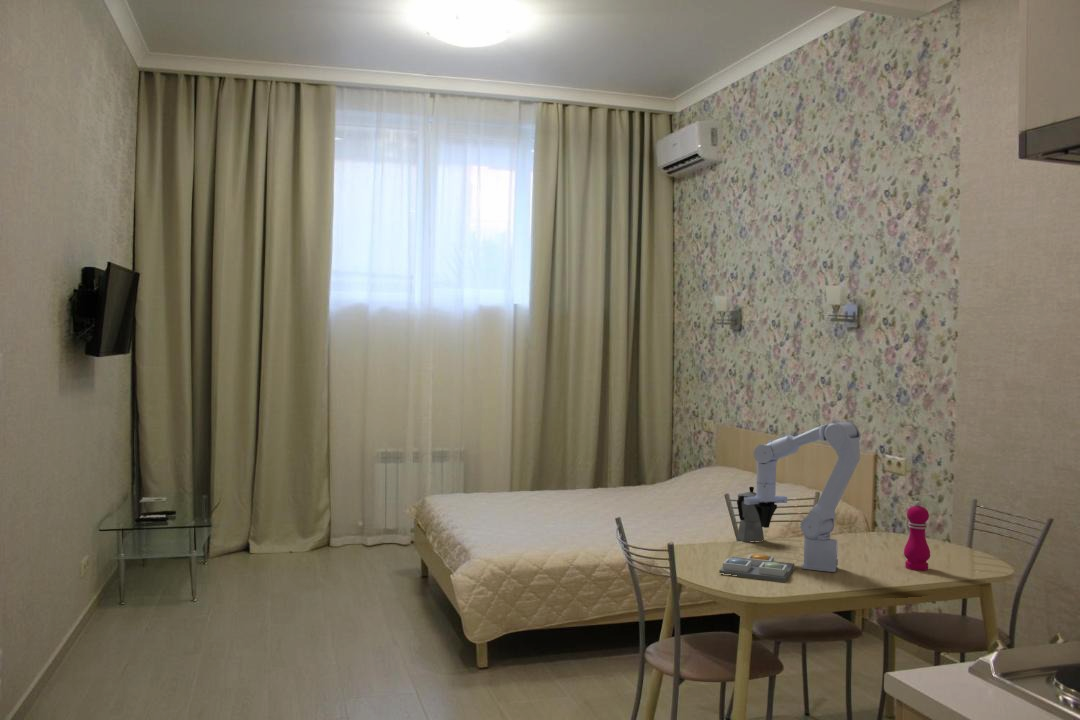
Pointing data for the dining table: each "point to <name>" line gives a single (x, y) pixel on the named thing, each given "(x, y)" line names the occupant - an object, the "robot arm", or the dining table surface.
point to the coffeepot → (749, 519)
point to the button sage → (773, 565)
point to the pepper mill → (917, 539)
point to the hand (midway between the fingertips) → (765, 527)
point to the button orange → (760, 556)
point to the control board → (758, 569)
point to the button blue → (737, 561)
